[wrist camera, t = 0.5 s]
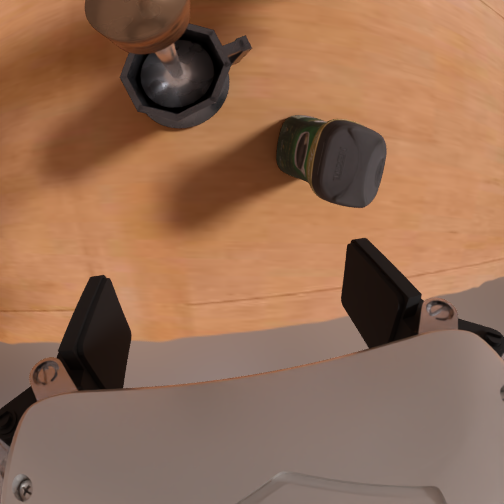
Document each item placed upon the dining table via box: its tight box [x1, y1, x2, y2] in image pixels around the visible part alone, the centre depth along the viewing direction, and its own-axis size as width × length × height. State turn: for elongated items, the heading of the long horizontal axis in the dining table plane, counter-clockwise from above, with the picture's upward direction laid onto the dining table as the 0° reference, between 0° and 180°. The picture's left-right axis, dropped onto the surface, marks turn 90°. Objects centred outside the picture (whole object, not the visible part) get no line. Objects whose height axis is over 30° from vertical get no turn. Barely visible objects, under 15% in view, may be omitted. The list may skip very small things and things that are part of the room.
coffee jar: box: [276, 115, 386, 208], centre depth 36 cm, size 10×8×19 cm
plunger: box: [85, 0, 214, 107], centre depth 15 cm, size 7×7×22 cm
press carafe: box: [120, 24, 252, 128], centre depth 29 cm, size 14×13×17 cm
